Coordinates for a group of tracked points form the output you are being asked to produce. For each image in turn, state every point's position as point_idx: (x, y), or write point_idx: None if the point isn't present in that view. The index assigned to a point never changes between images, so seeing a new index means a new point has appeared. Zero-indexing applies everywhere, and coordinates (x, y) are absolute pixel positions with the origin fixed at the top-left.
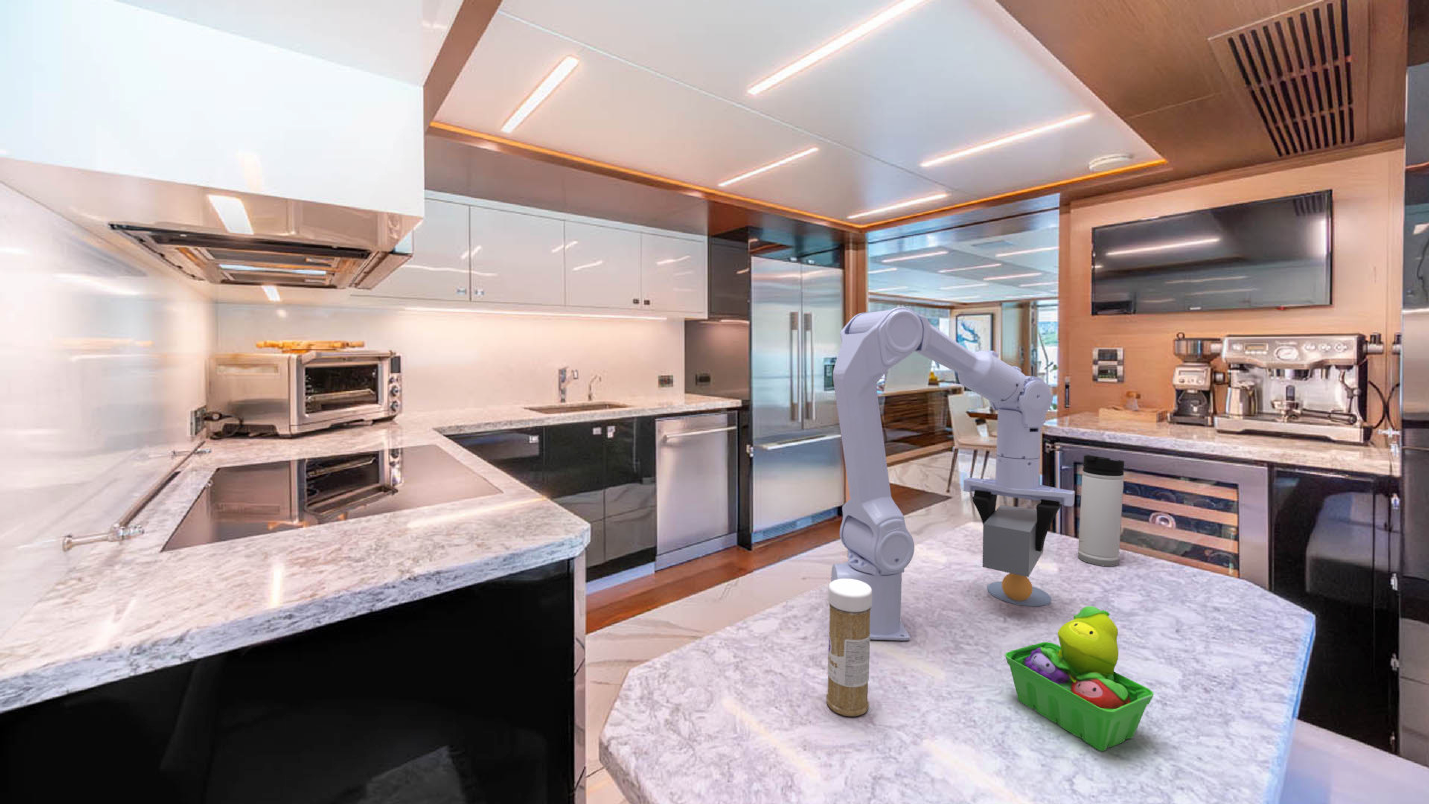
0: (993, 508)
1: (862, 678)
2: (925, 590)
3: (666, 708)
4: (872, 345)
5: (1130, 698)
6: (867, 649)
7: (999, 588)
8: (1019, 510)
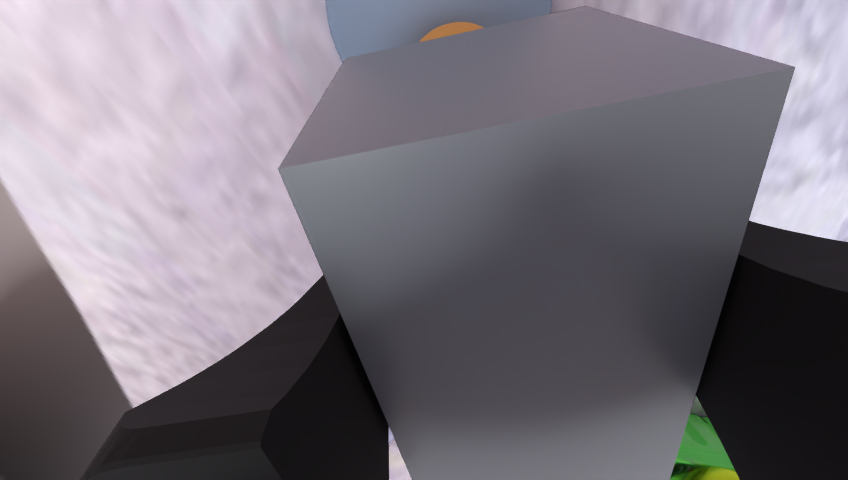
0: (352, 395)
1: None
2: (243, 231)
3: None
4: None
5: None
6: None
7: (373, 28)
8: (524, 229)
